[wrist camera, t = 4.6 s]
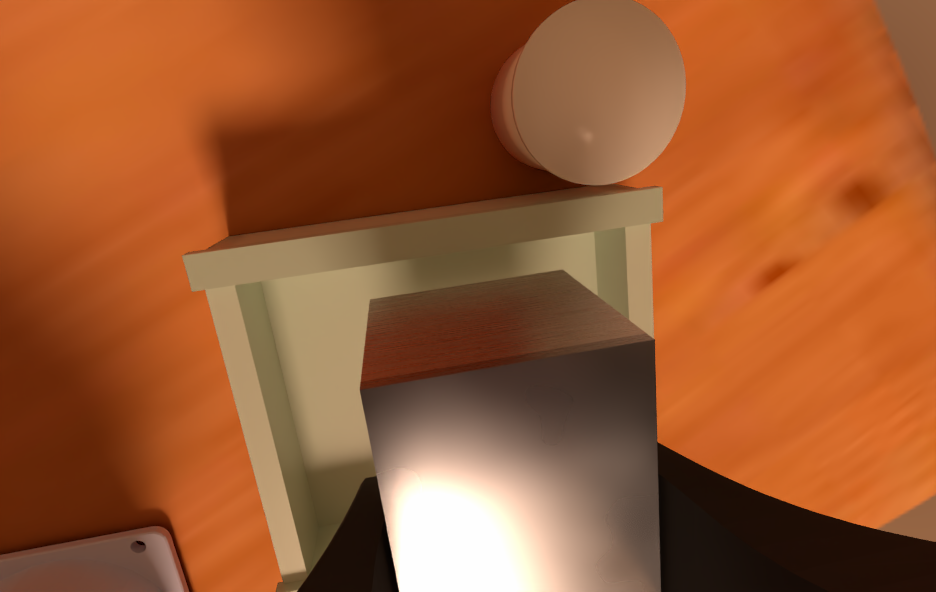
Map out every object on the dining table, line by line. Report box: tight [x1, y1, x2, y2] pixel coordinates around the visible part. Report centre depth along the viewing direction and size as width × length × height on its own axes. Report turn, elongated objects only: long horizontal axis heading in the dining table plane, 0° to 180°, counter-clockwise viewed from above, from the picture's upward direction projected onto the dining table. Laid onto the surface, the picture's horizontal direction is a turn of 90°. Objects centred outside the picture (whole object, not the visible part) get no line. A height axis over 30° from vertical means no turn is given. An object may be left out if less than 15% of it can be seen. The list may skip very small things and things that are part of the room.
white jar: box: [490, 0, 686, 185], centre depth 16 cm, size 5×5×4 cm
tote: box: [182, 184, 663, 592], centre depth 19 cm, size 13×12×4 cm
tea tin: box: [360, 269, 661, 592], centre depth 12 cm, size 5×8×5 cm, turn 7°
